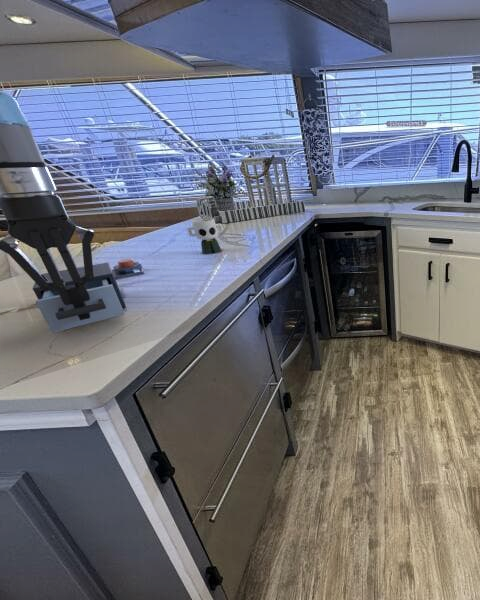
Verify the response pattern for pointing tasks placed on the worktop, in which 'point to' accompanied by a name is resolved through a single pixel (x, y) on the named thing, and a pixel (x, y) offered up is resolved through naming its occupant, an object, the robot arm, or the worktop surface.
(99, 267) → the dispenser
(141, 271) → the panel
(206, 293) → the worktop surface
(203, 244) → the character mug
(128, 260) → the button
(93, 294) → the drawer
